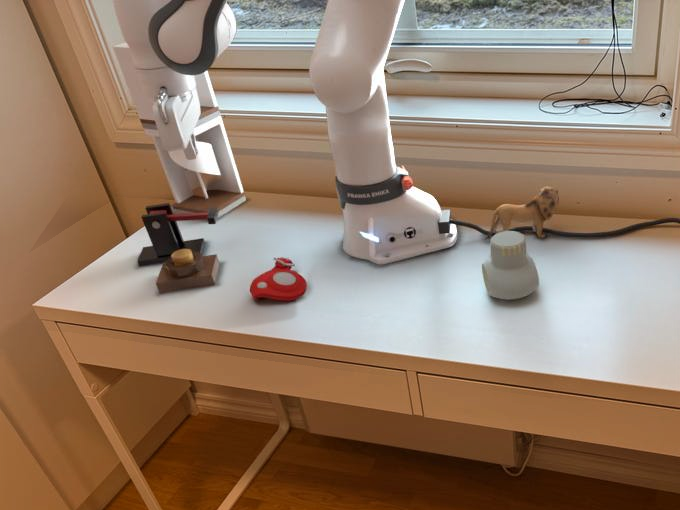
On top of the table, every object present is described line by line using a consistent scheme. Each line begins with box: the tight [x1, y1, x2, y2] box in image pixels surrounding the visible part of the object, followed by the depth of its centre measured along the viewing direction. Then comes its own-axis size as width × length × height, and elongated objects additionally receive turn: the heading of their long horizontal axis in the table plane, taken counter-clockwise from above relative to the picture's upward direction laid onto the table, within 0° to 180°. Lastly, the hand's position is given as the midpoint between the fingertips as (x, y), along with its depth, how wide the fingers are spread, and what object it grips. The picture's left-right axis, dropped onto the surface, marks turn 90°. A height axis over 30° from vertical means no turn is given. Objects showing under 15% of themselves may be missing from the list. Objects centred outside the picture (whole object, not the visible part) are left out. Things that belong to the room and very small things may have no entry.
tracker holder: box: [249, 256, 308, 302], centre depth 125 cm, size 12×4×10 cm
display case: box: [112, 41, 247, 221], centre depth 146 cm, size 11×11×35 cm
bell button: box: [171, 249, 194, 266], centre depth 129 cm, size 4×4×2 cm
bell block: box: [155, 251, 221, 294], centre depth 130 cm, size 10×8×4 cm
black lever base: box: [136, 202, 206, 267], centre depth 137 cm, size 12×6×10 cm, turn 101°
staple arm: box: [150, 207, 218, 225], centre depth 136 cm, size 12×5×2 cm, turn 100°
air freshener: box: [481, 230, 540, 301], centre depth 117 cm, size 11×8×10 cm
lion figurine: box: [485, 185, 560, 240], centre depth 133 cm, size 15×5×9 cm, turn 103°
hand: (193, 156), depth 129 cm, fingers closed
